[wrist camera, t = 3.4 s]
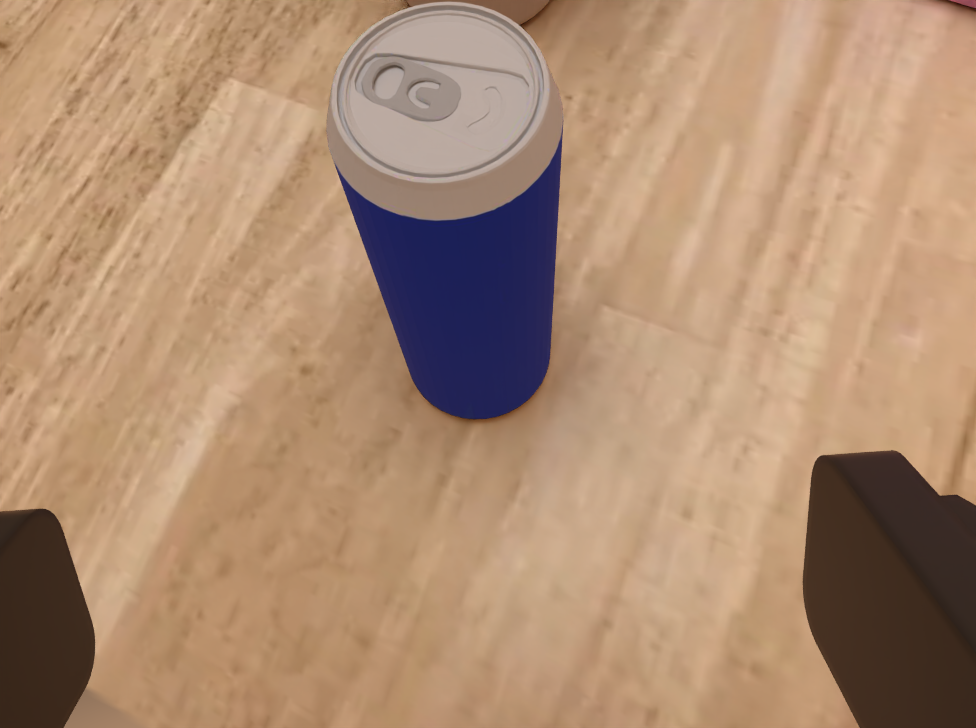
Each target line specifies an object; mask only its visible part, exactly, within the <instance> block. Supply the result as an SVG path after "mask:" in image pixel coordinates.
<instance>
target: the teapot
mask: <svg viewBox="0 0 976 728" xmlns="http://www.w3.org/2000/svg"><path fill="white" fill-rule="evenodd" d="M950 1H953V2H956V3H960V4H963V5H966V6H970V7H973V8H976V0H950Z"/></svg>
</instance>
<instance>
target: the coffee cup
mask: <svg viewBox="0 0 976 728" xmlns="http://www.w3.org/2000/svg"><path fill="white" fill-rule="evenodd" d="M406 1H407V3H408V4H409V5H410V6H411V7H413V6H416V5H422V4H427V3H434V2H462V3H469V4H474V5H479V6H482V7H485V8H488V9H491V10H494V11H496V12H498V13H500V14H502V15H504V16H506V17H508V18H510V19H511V20H512V21H514V22H515V23H517V24H518V25H520V24H522V23H524V22H526V21H527V20H529V19H531V18H532V17H534V16H535V15H536V14H537V13H538V12H539V11H541V10H542V9H543V8H544V7H545V6H546V4H547V3H548V2H549V1H550V0H406Z"/></svg>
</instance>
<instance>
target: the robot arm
mask: <svg viewBox="0 0 976 728" xmlns="http://www.w3.org/2000/svg"><path fill="white" fill-rule="evenodd" d="M803 596H804V604H805V610H806V615H807V619H808V623H809V626H810V629H811V632H812V635H813V637H814V639H815V642H816V644H817V646H818V648H819V650H820V652H821V653H822V655H823V657H824V659H825V661H826V663H827V665H828V667H829V669H830V671H831V673H832V675H833V677H834V679H835V681H836V683H837V685H838V686H839V688H840V690H841V692H842V694H843V696H844V698H845V700H846V702H847V704H848V706H849V708H850V710H851V712H852V714H853V716H854V718H855V719H856V721H857V723H858V725H859V727H860V728H976V505H974V504H972V503H971V502H969V501H967V500H965V499H963V498H962V497H960V496H958V495H946V496H939V495H938V493H937V492H936V491H935V490H934V489H933V488H932V487H931V486H930V485H929V484H928V482H927V481H926V480H925V479H924V478H923V477H922V476H921V475H920V474H919V472H918V471H917V470H916V469H915V468H914V467H913V466H912V465H911V464H910V463H909V461H908V460H907V459H906V458H905V457H904V456H903V455H902V454H901V453H899V452H897V451H893V450H891V451H877V452H863V453H849V454H835V455H823V456H820V457H819V458H817V460H816V462H815V464H814V467H813V471H812V477H811V487H810V499H809V511H808V523H807V535H806V547H805V558H804V570H803ZM94 656H95V634H94V628H93V624H92V620H91V617H90V614H89V611H88V608H87V605H86V601H85V598H84V595H83V592H82V589H81V586H80V583H79V580H78V576H77V573H76V570H75V567H74V564H73V561H72V558H71V555H70V551H69V548H68V545H67V542H66V539H65V536H64V533H63V530H62V527H61V525H60V523H59V521H58V519H57V518H56V516H55V515H54V514H53V513H52V512H50V511H49V510H46V509H30V510H16V511H2V512H0V728H64V726H65V724H66V722H67V720H68V719H69V717H70V715H71V713H72V711H73V710H74V707H75V706H76V704H77V702H78V700H79V699H80V697H81V695H82V693H83V692H84V690H85V688H86V686H87V684H88V681H89V679H90V676H91V672H92V668H93V663H94Z"/></svg>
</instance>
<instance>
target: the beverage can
mask: <svg viewBox="0 0 976 728" xmlns="http://www.w3.org/2000/svg"><path fill="white" fill-rule="evenodd" d="M562 134H563V108H562V101H561V97H560V94H559V90H558V87H557V85H556V83H555V81H554V79H553V77H552V74H551V72H550V70H549V68H548V65H547V63H546V61H545V59H544V57H543V54H542V52H541V50H540V49H539V47H538V46H537V44H536V43H535V42H534V40H533V39H532V37H531V36H530V35H529V34H528V33H527V32H526V31H525V30H524V29H523V28H522V27H521V26H519V25H518V24H517V23H515V22H514V21H512V20H511V19H510V18H508V17H506V16H504V15H502V14H500V13H498V12H496V11H494V10H491V9H488V8H485V7H482V6H479V5H474V4H469V3H462V2H434V3H427V4H422V5H416V6H413V7H410V8H407V9H404V10H400V11H398V12H396V13H394V14H392V15H389V16H387V17H385V18H384V19H382V20H380V21H379V22H377V23H376V24H374V25H373V26H371V27H370V28H369V29H368V30H366V31H365V32H364V33H363V34H362V35H360V36H359V37H358V39H357V40H356V41H355V42H354V43H353V44H352V45H351V46H350V48H349V49H348V51H347V52H346V54H345V55H344V57H343V58H342V60H341V62H340V64H339V66H338V68H337V71H336V73H335V75H334V80H333V84H332V88H331V94H330V101H329V107H328V114H327V138H328V145H329V149H330V152H331V155H332V158H333V161H334V163H335V166H336V169H337V172H338V175H339V177H340V180H341V183H342V186H343V188H344V191H345V194H346V197H347V200H348V202H349V205H350V208H351V211H352V213H353V216H354V219H355V222H356V225H357V227H358V230H359V233H360V236H361V238H362V241H363V244H364V247H365V250H366V252H367V255H368V258H369V261H370V263H371V266H372V269H373V272H374V274H375V277H376V280H377V283H378V286H379V288H380V291H381V294H382V297H383V299H384V302H385V305H386V308H387V311H388V313H389V316H390V319H391V322H392V324H393V327H394V330H395V333H396V336H397V338H398V341H399V344H400V347H401V349H402V352H403V355H404V358H405V360H406V363H407V366H408V369H409V372H410V374H411V377H412V380H413V382H414V383H415V385H416V387H417V389H418V390H419V391H420V392H421V394H422V395H423V396H424V397H425V398H426V399H427V400H428V401H429V402H430V403H431V404H432V405H434V406H435V407H437V408H439V409H440V410H442V411H444V412H446V413H449V414H451V415H454V416H458V417H461V418H468V419H487V418H492V417H497V416H500V415H503V414H506V413H509V412H510V411H512V410H514V409H516V408H518V407H519V406H521V405H522V404H523V403H525V402H526V401H527V400H528V399H529V398H530V397H531V396H532V395H533V394H534V393H535V392H536V390H537V389H538V388H539V386H540V385H541V383H542V381H543V379H544V377H545V375H546V372H547V369H548V365H549V359H550V348H551V330H552V312H553V295H554V277H555V259H556V241H557V223H558V205H559V188H560V170H561V152H562Z"/></svg>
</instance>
